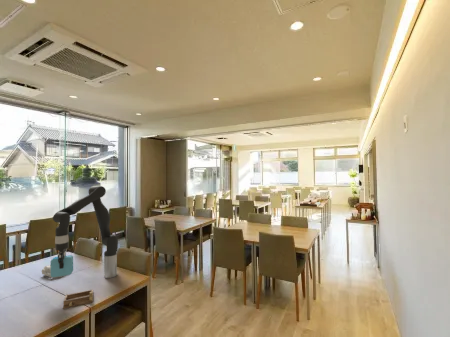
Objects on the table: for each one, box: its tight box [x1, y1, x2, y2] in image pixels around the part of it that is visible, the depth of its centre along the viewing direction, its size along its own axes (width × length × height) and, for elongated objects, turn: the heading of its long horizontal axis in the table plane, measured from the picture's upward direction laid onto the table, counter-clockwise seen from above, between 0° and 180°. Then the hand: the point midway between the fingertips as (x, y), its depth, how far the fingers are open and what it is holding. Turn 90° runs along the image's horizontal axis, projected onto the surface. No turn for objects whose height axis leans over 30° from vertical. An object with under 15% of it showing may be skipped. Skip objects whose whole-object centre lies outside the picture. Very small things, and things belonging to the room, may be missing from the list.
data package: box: [50, 254, 74, 278], centre depth 160 cm, size 12×4×12 cm, turn 111°
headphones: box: [41, 264, 63, 279], centre depth 198 cm, size 18×8×20 cm
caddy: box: [62, 289, 94, 310], centre depth 156 cm, size 14×16×6 cm
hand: (62, 266), depth 160 cm, fingers closed on data package, 4 cm apart
